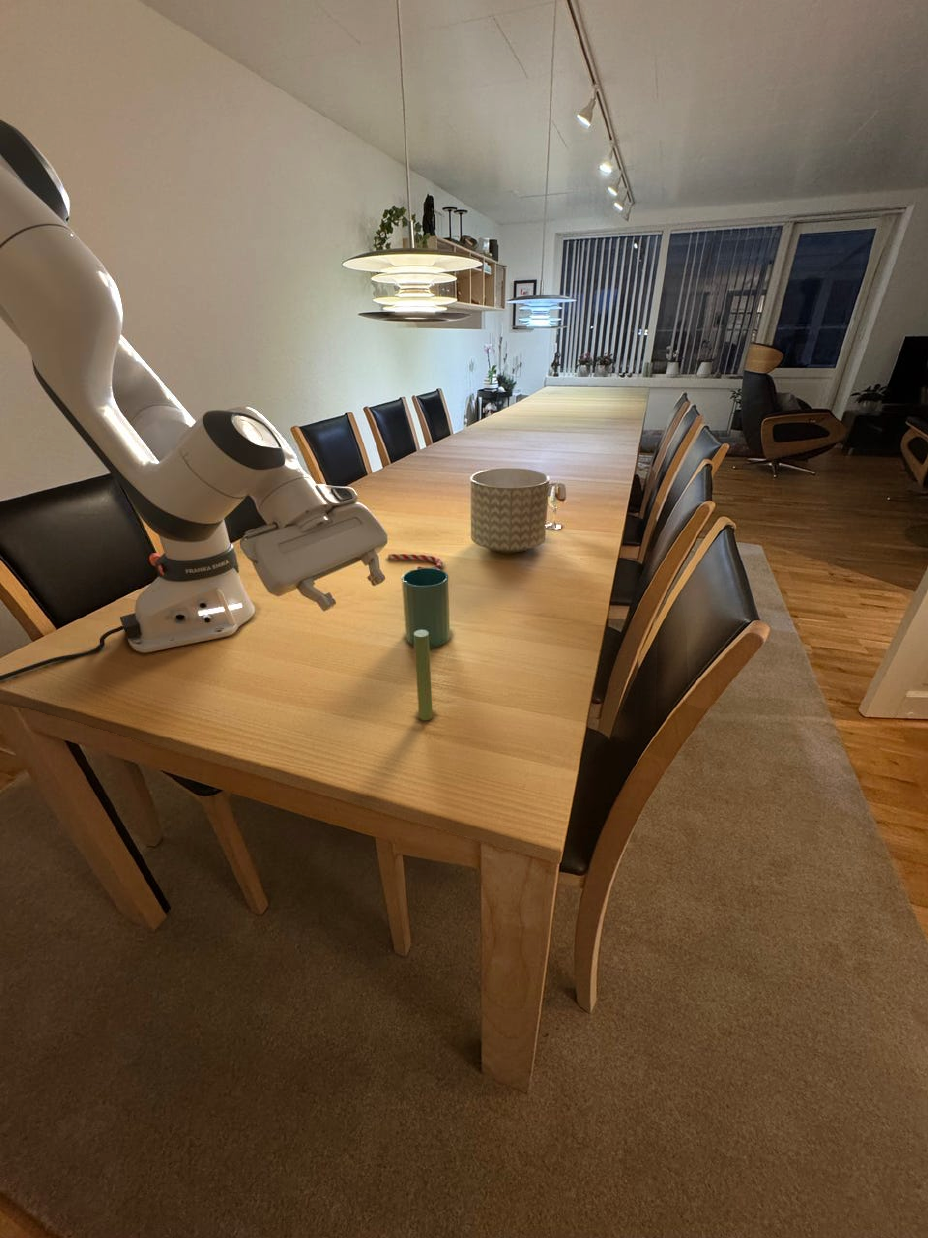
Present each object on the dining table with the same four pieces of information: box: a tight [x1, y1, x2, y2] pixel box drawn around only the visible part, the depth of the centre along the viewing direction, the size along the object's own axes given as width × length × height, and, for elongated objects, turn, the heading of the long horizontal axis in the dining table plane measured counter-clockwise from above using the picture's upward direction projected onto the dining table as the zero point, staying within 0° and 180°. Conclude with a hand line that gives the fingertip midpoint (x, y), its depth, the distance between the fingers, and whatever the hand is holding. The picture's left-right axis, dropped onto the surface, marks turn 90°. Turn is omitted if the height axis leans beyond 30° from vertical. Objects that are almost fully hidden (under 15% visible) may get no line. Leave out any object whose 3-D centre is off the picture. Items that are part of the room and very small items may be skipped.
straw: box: [413, 630, 434, 721], centre depth 71 cm, size 2×2×14 cm
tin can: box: [401, 568, 451, 649], centre depth 92 cm, size 8×8×12 cm
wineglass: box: [546, 482, 567, 531], centre depth 144 cm, size 6×6×12 cm
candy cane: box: [387, 553, 444, 570], centre depth 124 cm, size 8×1×15 cm
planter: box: [470, 467, 550, 555], centre depth 129 cm, size 19×19×18 cm
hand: (356, 594), depth 72 cm, fingers open, 8 cm apart
